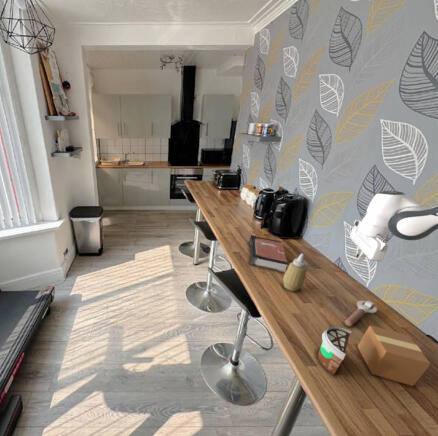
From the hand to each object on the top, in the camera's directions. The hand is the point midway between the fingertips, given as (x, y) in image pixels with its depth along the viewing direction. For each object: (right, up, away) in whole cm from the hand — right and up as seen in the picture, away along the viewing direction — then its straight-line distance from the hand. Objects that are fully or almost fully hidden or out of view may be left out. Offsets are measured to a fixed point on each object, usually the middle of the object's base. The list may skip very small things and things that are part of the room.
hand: (359, 258), depth 100 cm
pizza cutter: (-6, -22, -7) cm, 24 cm away
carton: (-15, -30, -25) cm, 42 cm away
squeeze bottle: (-24, -15, +8) cm, 30 cm away
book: (-24, -4, +32) cm, 40 cm away
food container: (-33, -28, -24) cm, 49 cm away
